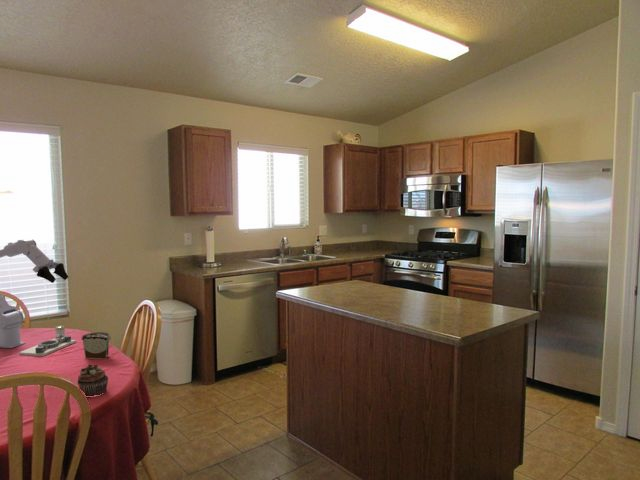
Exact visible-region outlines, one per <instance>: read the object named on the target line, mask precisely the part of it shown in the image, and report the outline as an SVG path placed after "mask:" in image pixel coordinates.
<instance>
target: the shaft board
mask: <svg viewBox="0 0 640 480" xmlns="http://www.w3.org/2000/svg"><path fill="white" fill-rule="evenodd" d="M75 343H77V340H76V339H71V341H69V342H62V343H59V341H58V340H57V339H56V338H52V339H47V340H44V341H41V342H38V344H36V345H35V346H31V347H30V348H27V349H24V350H21V351H19V352H18V354H19V355H21V356H23V355H24V356H35V357H45V356H47V355H49V354H53V353H54V352H57V351H58V350H61V349H63V348H65V347H68V346H71V345H72V344H75ZM43 344H46V345H47V349H45V351H44V352H43V353H36V349H35V348H36V347H40V346H41V345H43ZM70 344H71V345H70Z"/></svg>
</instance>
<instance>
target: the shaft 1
mask: <svg viewBox="0 0 640 480" xmlns="http://www.w3.org/2000/svg"><path fill="white" fill-rule="evenodd" d="M35 349H36V353H43V352H44V351H45V349H47V345H46V344H43V345H41V346H40V347H36V348H35Z"/></svg>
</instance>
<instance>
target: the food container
mask: <svg viewBox="0 0 640 480" xmlns="http://www.w3.org/2000/svg"><path fill="white" fill-rule="evenodd" d="M111 337H112V336H111V334H110V333H109V332H106V331H96V332H89V333H84V334H82V335H81V341H82V344H83V351H84V358H85V359H93V360H95V359H98V360H107V359H108V357H109V346H110V341H111V339H112V338H111Z"/></svg>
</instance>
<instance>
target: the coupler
mask: <svg viewBox="0 0 640 480" xmlns="http://www.w3.org/2000/svg"><path fill="white" fill-rule="evenodd" d="M54 330H55V339H58V338H63V336H66V326H65V325H58V326H55V328H54Z"/></svg>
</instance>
